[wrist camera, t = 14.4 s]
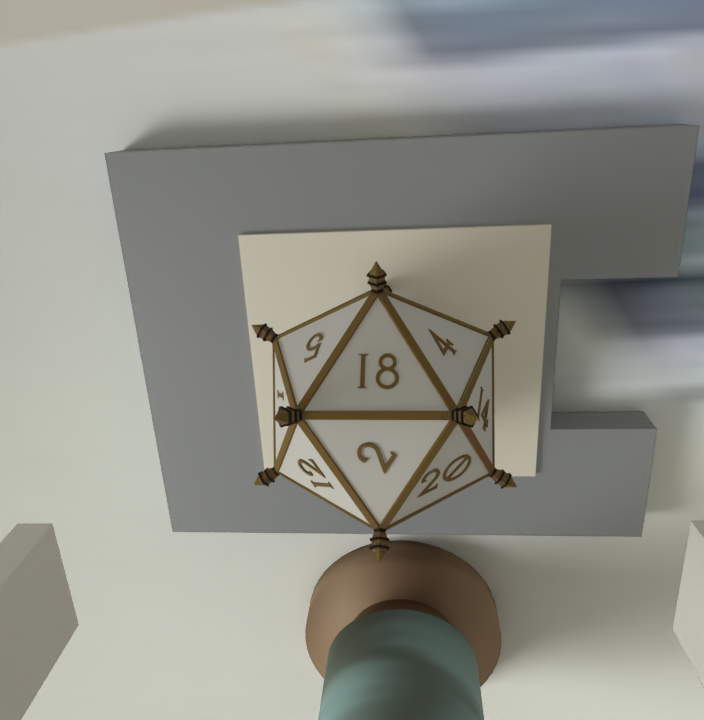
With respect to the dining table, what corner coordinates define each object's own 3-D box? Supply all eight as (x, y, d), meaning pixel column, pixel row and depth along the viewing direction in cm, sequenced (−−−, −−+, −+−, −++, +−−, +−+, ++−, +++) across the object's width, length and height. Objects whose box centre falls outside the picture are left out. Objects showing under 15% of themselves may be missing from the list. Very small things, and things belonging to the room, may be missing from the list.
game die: (416, 290, 27) (605, 258, 18) (418, 492, 27) (607, 559, 18) (204, 282, 23) (313, 236, 14) (207, 518, 23) (317, 620, 14)
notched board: (183, 511, 30) (171, 534, 28) (122, 150, 24) (102, 153, 22) (630, 515, 28) (643, 539, 26) (681, 124, 22) (701, 125, 21)
